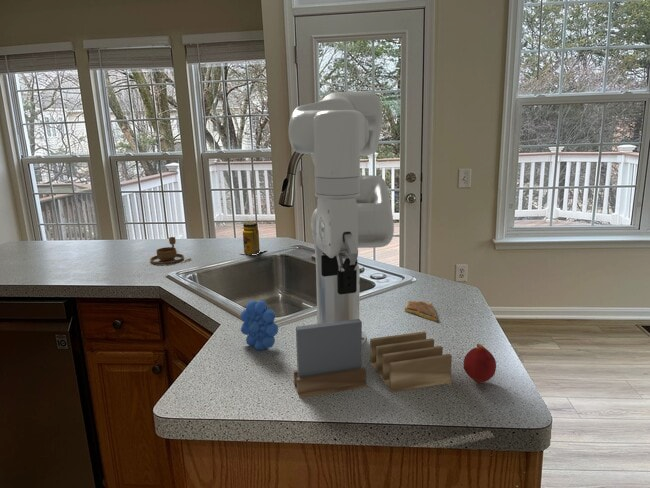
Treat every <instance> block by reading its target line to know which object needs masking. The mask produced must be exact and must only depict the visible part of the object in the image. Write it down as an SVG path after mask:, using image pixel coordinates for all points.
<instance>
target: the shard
mask: <svg viewBox="0 0 650 488" xmlns="http://www.w3.org/2000/svg"><path fill="white" fill-rule="evenodd" d="M404 311H405V312H406V313H409V314H410V313H411V314H414V315H417V316H419V317H421V318H424V319H427V320H430V321H432V322H438V320H439V318H438V316H437V313H436V310H435V307H434V306H433V303H431V302H428V301H427V302H426V301H418V300H416V301H413V300H411V301H407V302H406V307H405V308H404Z"/></svg>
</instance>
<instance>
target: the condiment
mask: <svg viewBox="0 0 650 488" xmlns="http://www.w3.org/2000/svg"><path fill="white" fill-rule="evenodd" d="M242 225H243V227H242V228H243V230H242V242H243V253H244V254H247V255H246V256H249V255H252V254H257V253H259V251H260V250H261V249H260V234H259V233H260V232H259V228H258V224H257V222H256V221H255V222H254V221H252V222H251V221H250V222H249V221H248V222H244V223H242Z"/></svg>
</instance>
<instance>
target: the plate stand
mask: <svg viewBox="0 0 650 488" xmlns="http://www.w3.org/2000/svg"><path fill="white" fill-rule="evenodd" d="M292 382H293V385H294V388H295V390H296V393H297V396H298V398H299V399H300V398H301V399H302V398H307V397H314V396H319V395H320V396H321V395H326V394H331V393H338V392H344V391H350V390H357V389H363V388H368V387H369V385H368V384H367V369H366V367H362V368H359V369H352V370H346V371H339V372H333V373H326V374H319V375H313V376H306V377H300V378H298V376H297V369H295V370H293V380H292Z"/></svg>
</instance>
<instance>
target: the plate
mask: <svg viewBox="0 0 650 488" xmlns="http://www.w3.org/2000/svg"><path fill="white" fill-rule="evenodd" d="M362 324H363V322H362V321H361V319H360V318H359V319H354V320H346V321H338V322H330V323H322V324H317V323H316V324H309V325H300V326H295V334H296V335H295V339H296V341H295V343H296V370H297V376H298V378H300V377H306V376H313V375H319V374H326V373H333V372H339V371H346V370H352V369H359V368H363V367H362V366H363V365H362V362H363V361H362V357H363V355H362V354H363V353H362V346H363V345H362V331H363V327H362V326H363V325H362Z"/></svg>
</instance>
